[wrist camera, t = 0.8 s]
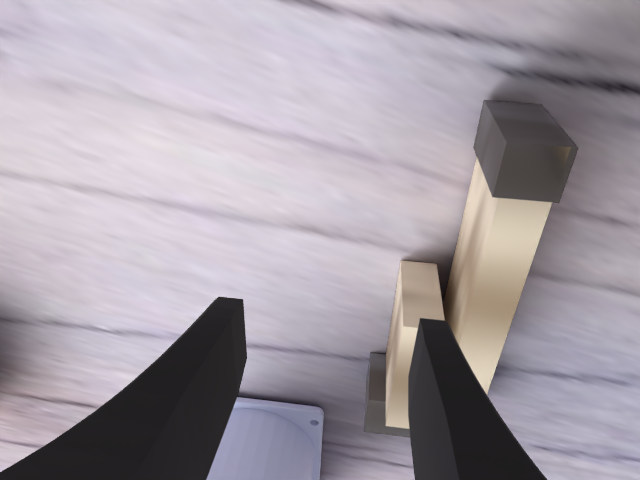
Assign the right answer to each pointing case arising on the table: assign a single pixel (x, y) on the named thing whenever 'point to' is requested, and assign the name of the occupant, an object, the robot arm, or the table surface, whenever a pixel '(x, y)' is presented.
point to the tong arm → (503, 224)
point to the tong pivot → (400, 349)
